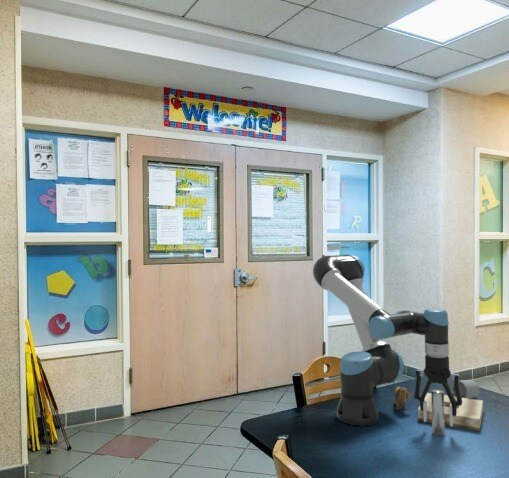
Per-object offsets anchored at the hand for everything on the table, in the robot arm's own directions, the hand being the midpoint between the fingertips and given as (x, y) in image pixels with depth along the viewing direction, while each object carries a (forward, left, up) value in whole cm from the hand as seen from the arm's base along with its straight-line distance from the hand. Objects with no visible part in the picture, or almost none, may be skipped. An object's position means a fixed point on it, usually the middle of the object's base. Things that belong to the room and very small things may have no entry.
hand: (438, 422), depth 152 cm
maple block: (+2, +18, -4) cm, 18 cm away
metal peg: (0, 0, -4) cm, 4 cm away
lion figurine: (-16, +19, -4) cm, 25 cm away
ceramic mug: (+4, +41, -4) cm, 41 cm away
